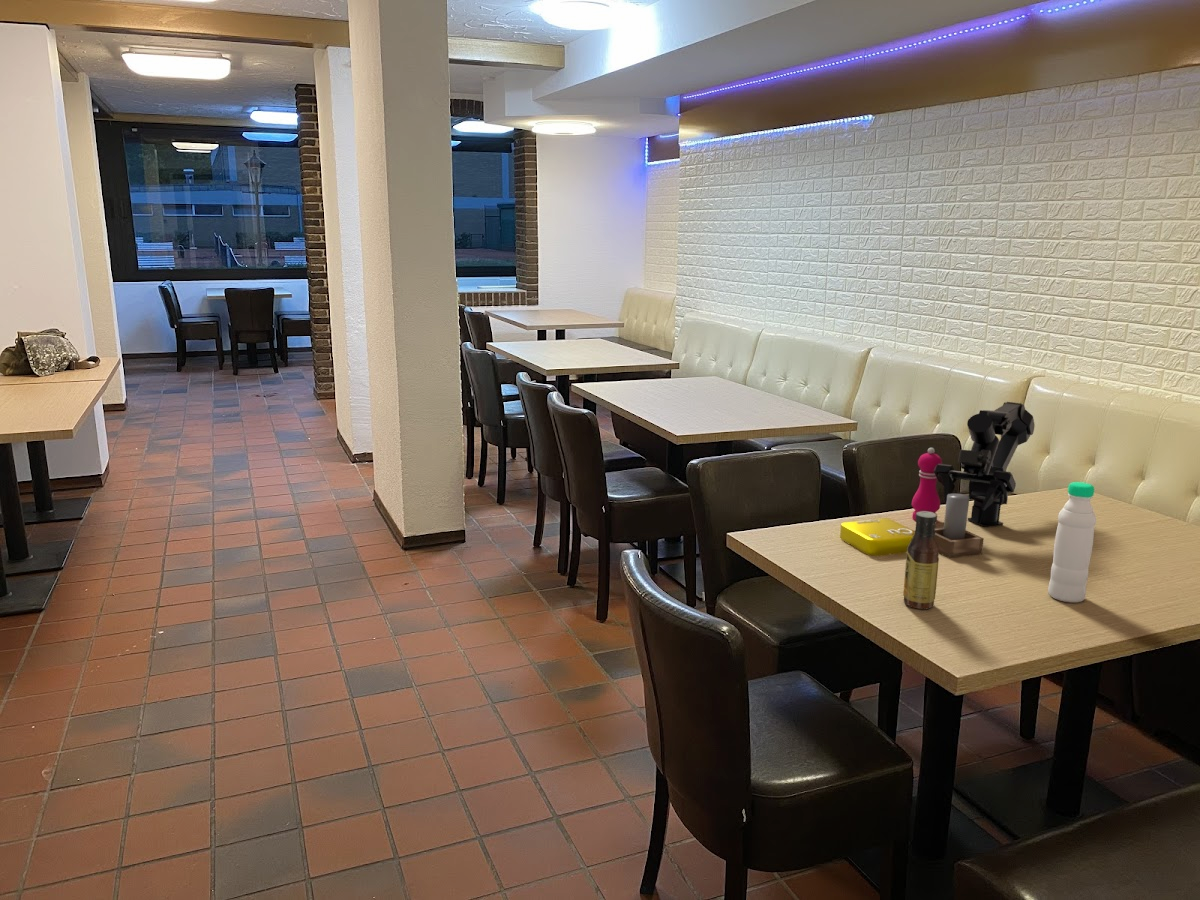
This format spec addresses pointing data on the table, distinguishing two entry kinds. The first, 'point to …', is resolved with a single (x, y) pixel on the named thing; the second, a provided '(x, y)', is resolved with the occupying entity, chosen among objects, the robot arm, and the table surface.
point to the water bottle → (1073, 545)
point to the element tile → (877, 536)
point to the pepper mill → (927, 484)
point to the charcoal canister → (956, 516)
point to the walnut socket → (959, 544)
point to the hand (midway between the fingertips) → (964, 506)
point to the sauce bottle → (922, 563)
